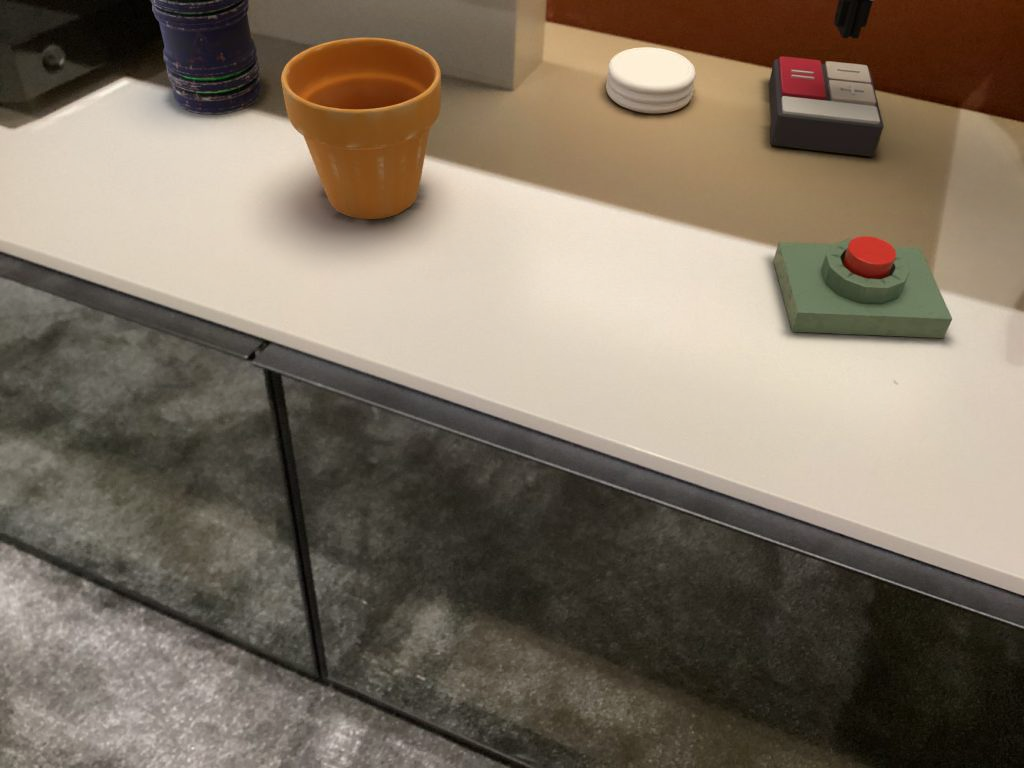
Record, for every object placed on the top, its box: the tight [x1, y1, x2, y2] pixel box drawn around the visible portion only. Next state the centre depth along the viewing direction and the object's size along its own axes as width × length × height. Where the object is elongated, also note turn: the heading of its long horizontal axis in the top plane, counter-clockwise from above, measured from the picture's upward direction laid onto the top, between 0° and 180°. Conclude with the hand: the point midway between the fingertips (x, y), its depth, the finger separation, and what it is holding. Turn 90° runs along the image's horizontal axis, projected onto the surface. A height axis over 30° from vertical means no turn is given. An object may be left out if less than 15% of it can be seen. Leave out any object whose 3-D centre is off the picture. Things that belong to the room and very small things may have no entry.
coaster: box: [605, 46, 697, 115], centre depth 110 cm, size 10×10×4 cm
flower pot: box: [280, 37, 442, 220], centre depth 91 cm, size 14×14×13 cm
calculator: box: [768, 55, 885, 157], centre depth 107 cm, size 11×4×15 cm
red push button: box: [843, 235, 896, 279], centre depth 83 cm, size 4×4×2 cm
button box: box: [773, 238, 953, 339], centre depth 85 cm, size 13×10×4 cm
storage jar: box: [150, 0, 263, 115], centre depth 104 cm, size 10×10×15 cm
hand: (847, 32), depth 102 cm, fingers closed
